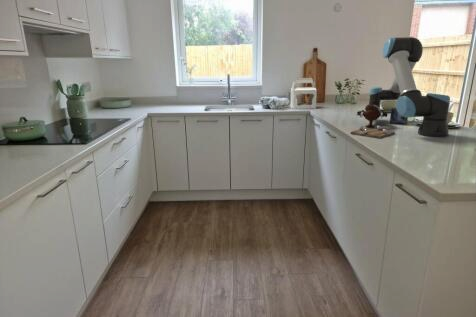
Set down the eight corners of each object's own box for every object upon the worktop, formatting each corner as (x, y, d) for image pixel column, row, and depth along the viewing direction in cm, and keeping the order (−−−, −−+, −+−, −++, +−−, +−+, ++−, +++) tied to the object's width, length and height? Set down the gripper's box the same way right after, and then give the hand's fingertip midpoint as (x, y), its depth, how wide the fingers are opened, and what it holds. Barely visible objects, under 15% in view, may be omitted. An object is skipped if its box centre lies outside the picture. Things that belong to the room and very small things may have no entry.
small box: (389, 124, 219) (391, 108, 216) (389, 122, 225) (391, 107, 222) (407, 124, 215) (409, 109, 212) (406, 123, 221) (408, 108, 218)
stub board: (394, 133, 190) (395, 127, 189) (379, 138, 179) (380, 132, 178) (366, 129, 203) (366, 123, 202) (350, 133, 192) (351, 127, 191)
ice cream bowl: (371, 129, 203) (374, 105, 199) (358, 126, 213) (359, 104, 208) (383, 127, 208) (385, 104, 204) (369, 125, 217) (371, 102, 213)
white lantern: (292, 109, 300) (293, 78, 292) (290, 107, 313) (290, 77, 305) (316, 108, 301) (317, 77, 293) (312, 106, 313) (313, 77, 305)
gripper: (391, 117, 220) (390, 122, 201) (355, 115, 230) (351, 120, 211) (392, 106, 218) (392, 110, 199) (355, 105, 227) (352, 109, 208)
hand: (371, 115), depth 205 cm, fingers closed on ice cream bowl, 11 cm apart
